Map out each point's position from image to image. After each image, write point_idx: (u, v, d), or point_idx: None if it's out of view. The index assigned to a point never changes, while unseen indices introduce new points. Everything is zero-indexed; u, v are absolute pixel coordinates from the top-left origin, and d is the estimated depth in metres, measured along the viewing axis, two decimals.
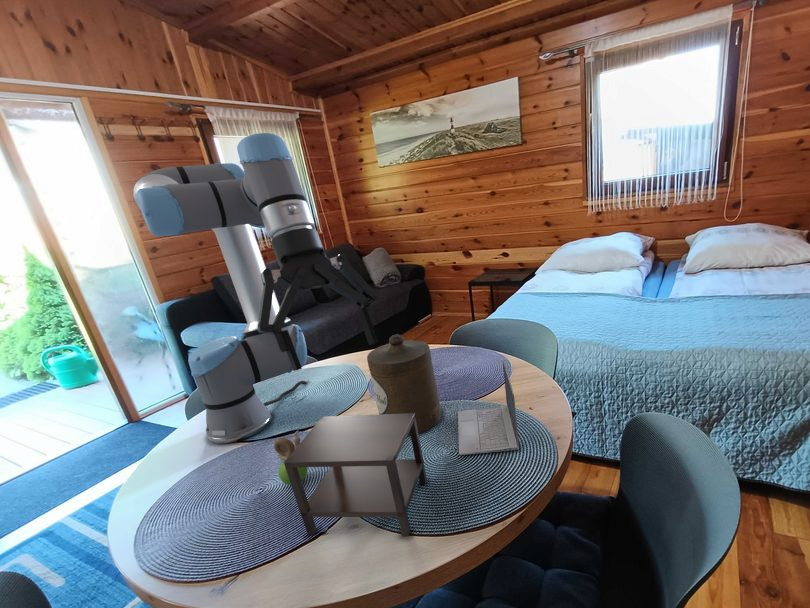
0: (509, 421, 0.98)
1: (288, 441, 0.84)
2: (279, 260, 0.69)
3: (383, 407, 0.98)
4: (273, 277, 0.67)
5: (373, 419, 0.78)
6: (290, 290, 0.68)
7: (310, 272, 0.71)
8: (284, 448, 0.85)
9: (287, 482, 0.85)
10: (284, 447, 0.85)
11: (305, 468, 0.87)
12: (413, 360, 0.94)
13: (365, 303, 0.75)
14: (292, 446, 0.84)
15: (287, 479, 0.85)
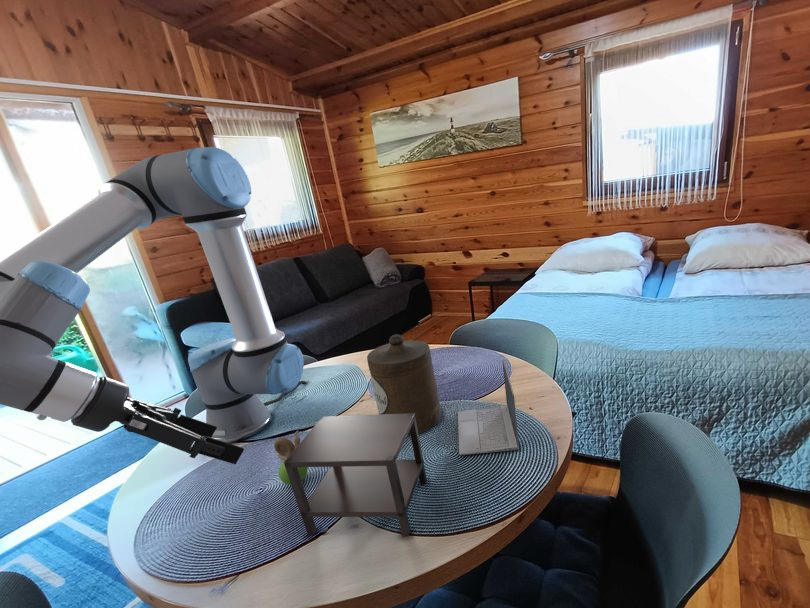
0: (509, 421, 0.98)
1: (288, 441, 0.84)
2: None
3: (383, 407, 0.98)
4: None
5: (373, 419, 0.78)
6: None
7: None
8: (284, 448, 0.85)
9: (287, 482, 0.85)
10: (284, 447, 0.85)
11: (305, 468, 0.87)
12: (413, 360, 0.94)
13: None
14: (292, 446, 0.84)
15: (287, 479, 0.85)
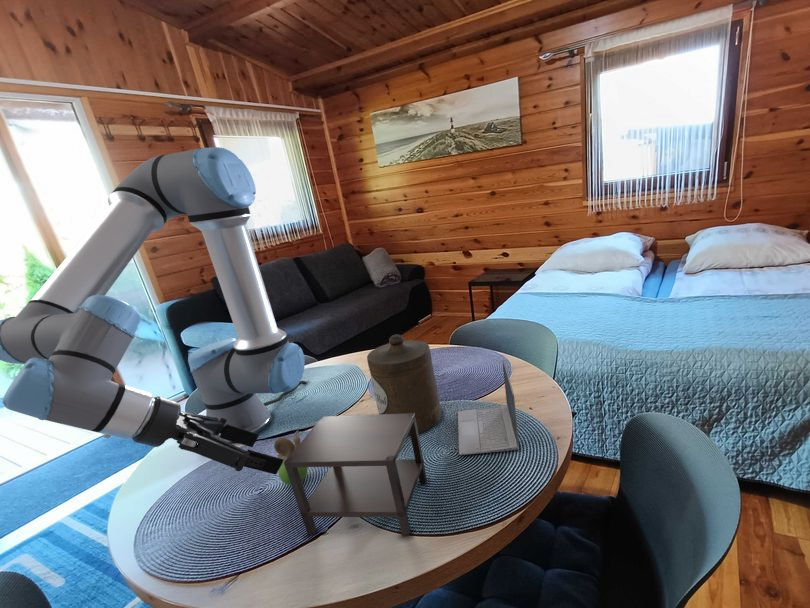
0: (509, 421, 0.98)
1: (288, 441, 0.84)
2: None
3: (383, 407, 0.98)
4: None
5: (373, 419, 0.78)
6: None
7: None
8: (284, 448, 0.85)
9: (287, 482, 0.85)
10: (284, 447, 0.85)
11: (305, 468, 0.87)
12: (413, 360, 0.94)
13: None
14: (292, 446, 0.84)
15: (287, 479, 0.85)
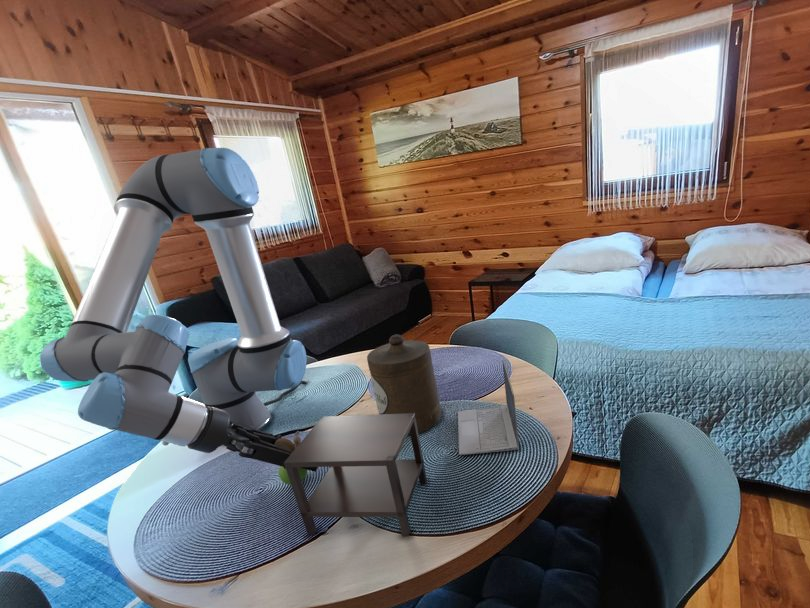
0: (509, 421, 0.98)
1: (288, 442, 0.84)
2: None
3: (383, 407, 0.98)
4: None
5: (373, 419, 0.78)
6: None
7: None
8: (284, 448, 0.85)
9: (287, 482, 0.85)
10: (284, 447, 0.85)
11: None
12: (413, 360, 0.94)
13: None
14: (292, 446, 0.84)
15: (287, 479, 0.85)
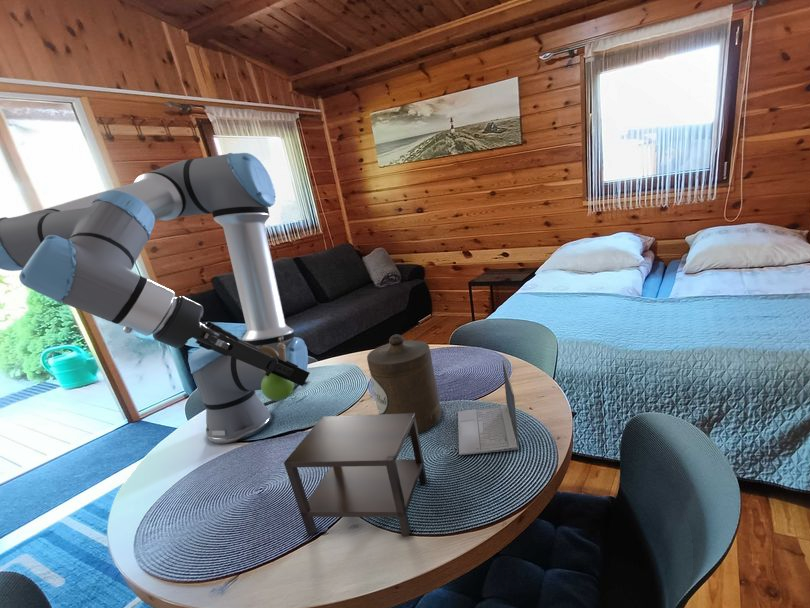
0: (509, 421, 0.98)
1: (271, 349, 0.75)
2: None
3: (383, 407, 0.98)
4: None
5: (373, 419, 0.78)
6: None
7: None
8: None
9: (270, 396, 0.76)
10: None
11: (291, 382, 0.78)
12: (413, 360, 0.94)
13: None
14: (276, 355, 0.75)
15: (270, 392, 0.76)
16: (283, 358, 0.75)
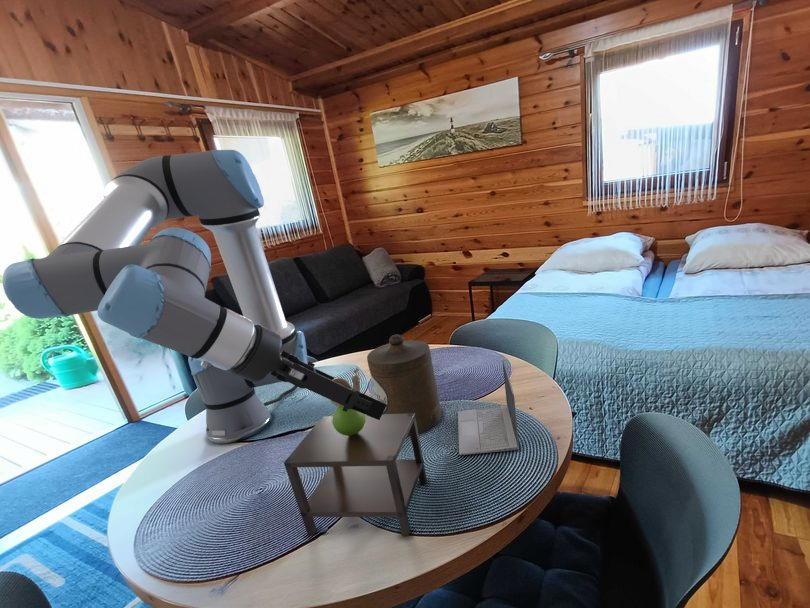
0: (509, 421, 0.98)
1: (345, 382, 0.70)
2: None
3: None
4: None
5: (373, 419, 0.78)
6: None
7: None
8: None
9: (343, 431, 0.71)
10: None
11: (364, 416, 0.73)
12: (413, 360, 0.94)
13: None
14: (350, 387, 0.70)
15: (344, 427, 0.71)
16: (358, 391, 0.70)
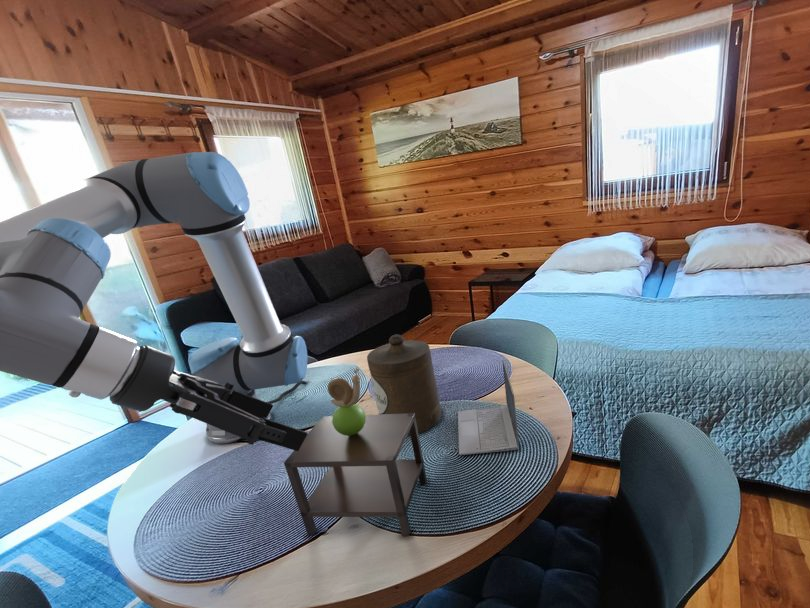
0: (509, 421, 0.98)
1: (345, 382, 0.70)
2: None
3: (383, 407, 0.98)
4: None
5: (373, 419, 0.78)
6: None
7: None
8: (340, 390, 0.71)
9: (343, 431, 0.71)
10: (340, 389, 0.71)
11: (364, 416, 0.73)
12: (413, 360, 0.94)
13: None
14: (350, 387, 0.70)
15: (344, 427, 0.71)
16: (358, 391, 0.70)
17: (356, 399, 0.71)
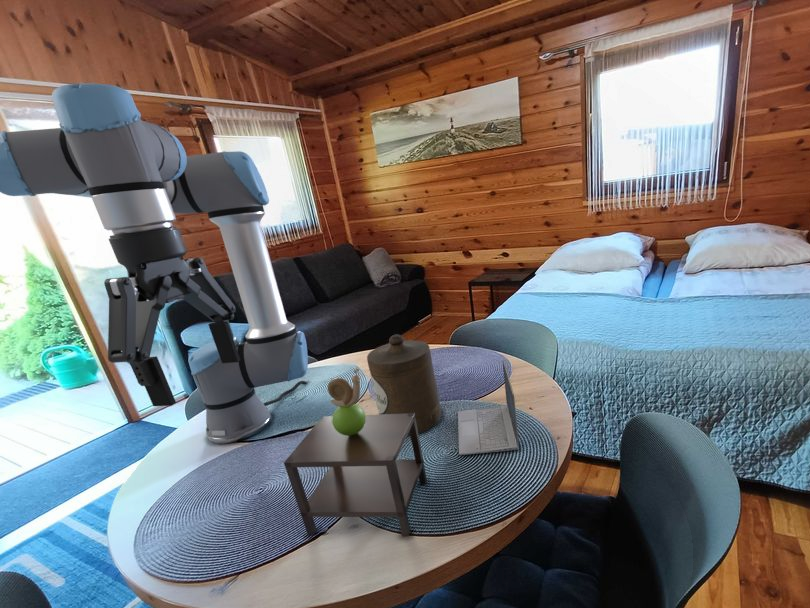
0: (509, 421, 0.98)
1: (345, 382, 0.70)
2: None
3: (383, 407, 0.98)
4: None
5: (373, 419, 0.78)
6: None
7: None
8: (340, 390, 0.71)
9: (343, 431, 0.71)
10: (340, 389, 0.71)
11: (364, 416, 0.73)
12: (413, 360, 0.94)
13: None
14: (350, 387, 0.70)
15: (344, 427, 0.71)
16: (358, 391, 0.70)
17: (356, 399, 0.71)
